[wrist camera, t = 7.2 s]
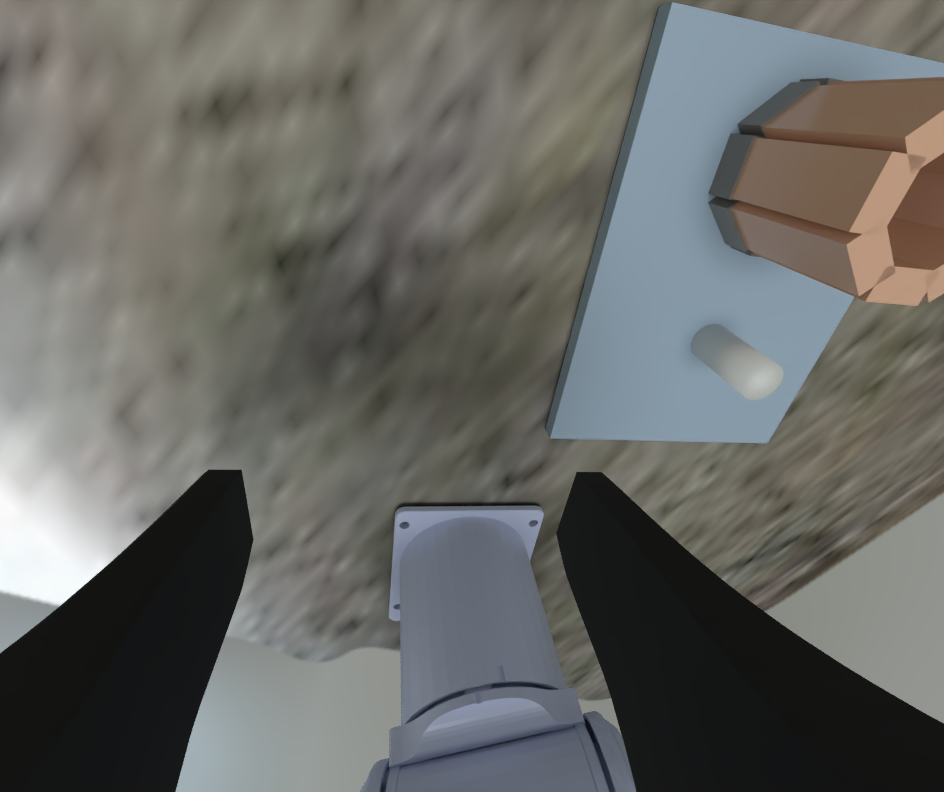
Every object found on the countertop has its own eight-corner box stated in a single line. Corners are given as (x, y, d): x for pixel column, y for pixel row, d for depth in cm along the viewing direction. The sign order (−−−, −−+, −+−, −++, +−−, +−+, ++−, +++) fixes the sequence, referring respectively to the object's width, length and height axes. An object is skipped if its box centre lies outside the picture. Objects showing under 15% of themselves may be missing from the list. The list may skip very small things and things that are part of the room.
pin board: (757, 433, 25) (819, 490, 21) (545, 428, 22) (574, 490, 19) (963, 74, 16) (1124, 66, 13) (659, 6, 14) (749, -26, 10)
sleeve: (809, 255, 18) (964, 313, 13) (689, 243, 17) (809, 300, 12) (891, 96, 16) (1125, 94, 11) (753, 70, 15) (940, 54, 10)
